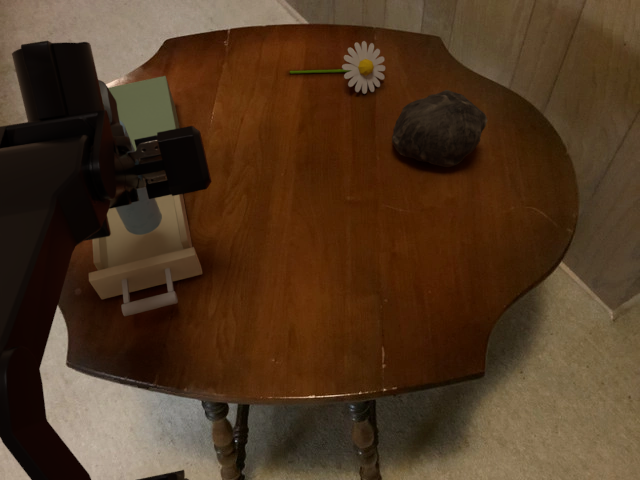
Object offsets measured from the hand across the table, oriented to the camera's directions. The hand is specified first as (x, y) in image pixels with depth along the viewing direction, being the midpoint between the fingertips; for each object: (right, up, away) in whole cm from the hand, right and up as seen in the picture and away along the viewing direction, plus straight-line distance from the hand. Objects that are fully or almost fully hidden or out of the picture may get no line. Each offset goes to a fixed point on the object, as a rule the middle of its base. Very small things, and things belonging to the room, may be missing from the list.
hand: (125, 173), depth 66 cm
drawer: (0, -8, +9) cm, 13 cm away
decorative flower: (+24, +17, +28) cm, 40 cm away
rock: (+37, +5, +18) cm, 42 cm away
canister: (+1, -5, +5) cm, 7 cm away
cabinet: (-5, +5, +20) cm, 21 cm away
